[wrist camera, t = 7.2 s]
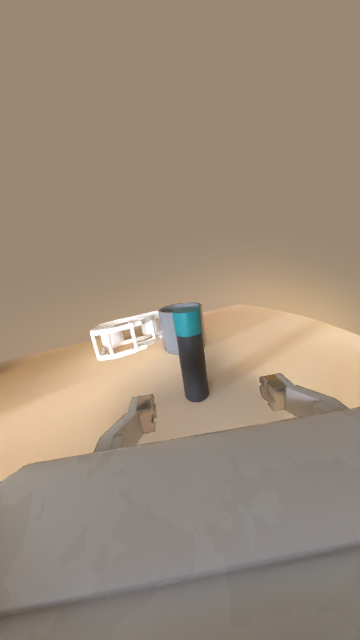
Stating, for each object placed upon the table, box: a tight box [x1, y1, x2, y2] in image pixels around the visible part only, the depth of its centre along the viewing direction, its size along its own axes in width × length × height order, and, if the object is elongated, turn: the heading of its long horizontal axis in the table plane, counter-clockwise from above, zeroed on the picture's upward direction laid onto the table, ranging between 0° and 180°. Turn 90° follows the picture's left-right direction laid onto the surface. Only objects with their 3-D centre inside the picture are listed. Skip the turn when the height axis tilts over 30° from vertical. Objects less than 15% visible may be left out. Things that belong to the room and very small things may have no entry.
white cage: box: [90, 311, 162, 361], centre depth 47 cm, size 20×11×7 cm, turn 116°
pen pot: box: [158, 303, 205, 355], centre depth 41 cm, size 10×10×10 cm
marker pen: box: [172, 306, 209, 402], centre depth 24 cm, size 4×4×12 cm
